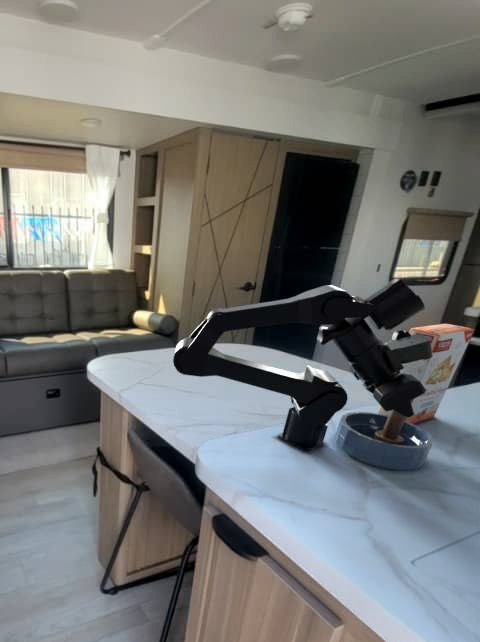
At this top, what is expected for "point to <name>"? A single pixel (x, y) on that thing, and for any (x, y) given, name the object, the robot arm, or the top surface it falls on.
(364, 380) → the robot arm
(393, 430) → the brown flanged rod
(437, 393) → the cracker box
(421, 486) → the top surface
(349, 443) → the bowl
